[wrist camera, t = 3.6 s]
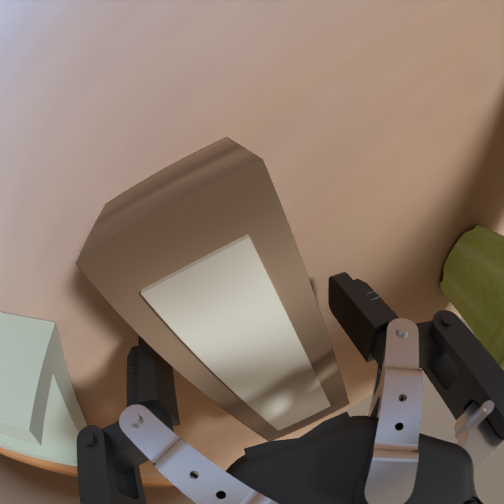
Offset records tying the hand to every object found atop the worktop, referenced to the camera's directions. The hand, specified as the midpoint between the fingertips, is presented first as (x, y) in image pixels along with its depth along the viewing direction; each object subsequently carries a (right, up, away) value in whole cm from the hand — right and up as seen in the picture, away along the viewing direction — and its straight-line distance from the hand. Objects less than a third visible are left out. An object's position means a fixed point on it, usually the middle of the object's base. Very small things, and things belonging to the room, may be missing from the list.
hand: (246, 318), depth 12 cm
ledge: (-20, -5, -2) cm, 21 cm away
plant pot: (+17, +2, +6) cm, 18 cm away
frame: (0, +1, +1) cm, 1 cm away
